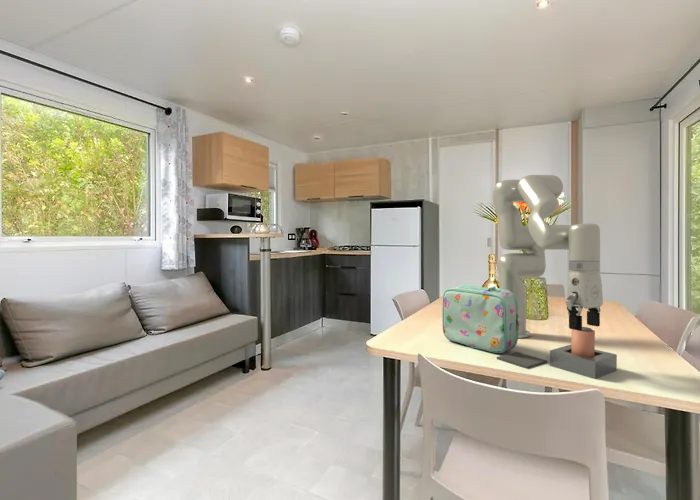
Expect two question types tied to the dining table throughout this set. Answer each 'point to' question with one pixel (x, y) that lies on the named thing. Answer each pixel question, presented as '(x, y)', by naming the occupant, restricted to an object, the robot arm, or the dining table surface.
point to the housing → (583, 362)
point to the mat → (522, 360)
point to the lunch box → (481, 317)
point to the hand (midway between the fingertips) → (584, 327)
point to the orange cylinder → (583, 342)
